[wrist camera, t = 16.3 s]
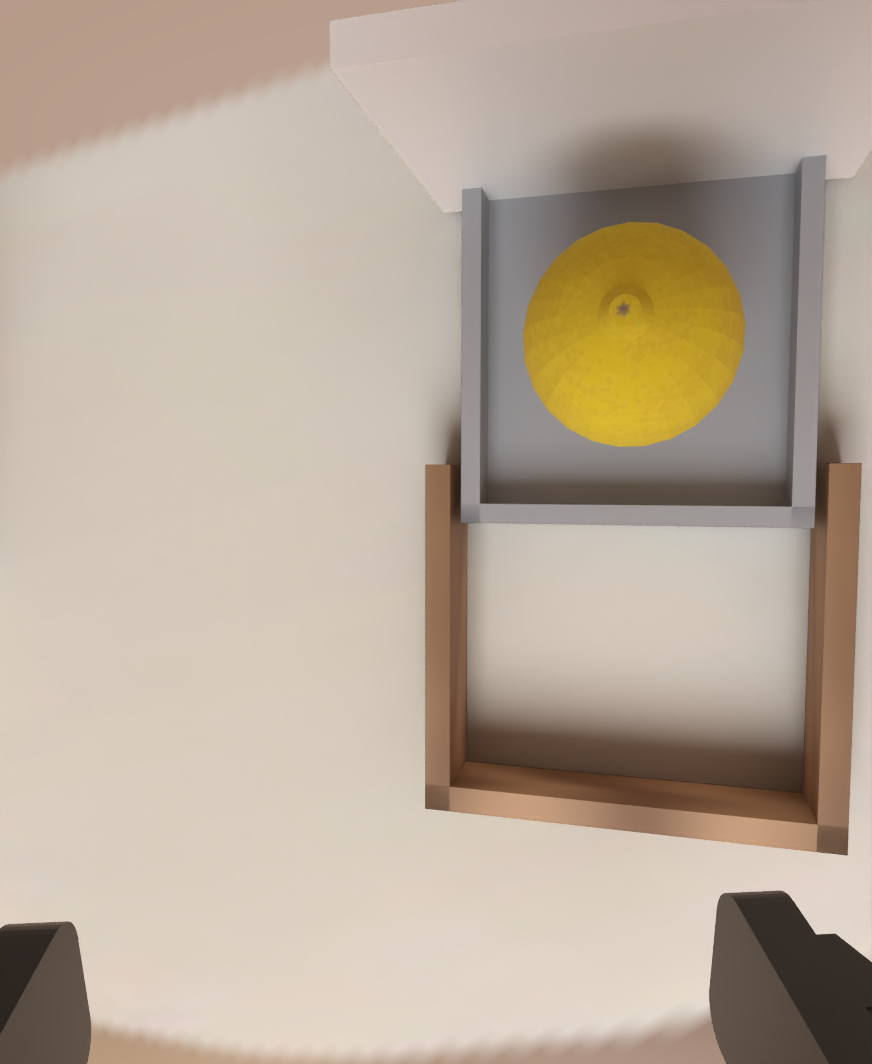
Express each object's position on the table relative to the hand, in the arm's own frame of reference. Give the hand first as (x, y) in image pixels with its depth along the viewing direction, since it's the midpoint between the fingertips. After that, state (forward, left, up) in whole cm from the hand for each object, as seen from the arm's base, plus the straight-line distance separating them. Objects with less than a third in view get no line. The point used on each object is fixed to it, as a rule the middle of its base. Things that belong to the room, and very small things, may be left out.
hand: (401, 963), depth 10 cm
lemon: (+2, +10, -17) cm, 20 cm away
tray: (+2, +10, -18) cm, 20 cm away
